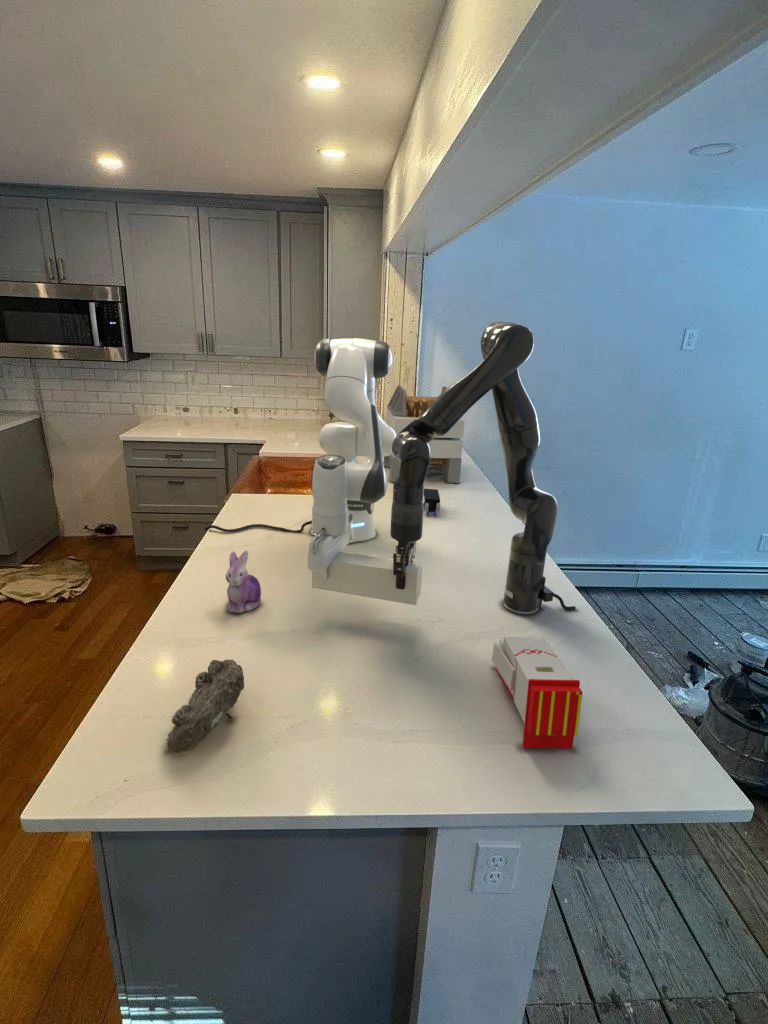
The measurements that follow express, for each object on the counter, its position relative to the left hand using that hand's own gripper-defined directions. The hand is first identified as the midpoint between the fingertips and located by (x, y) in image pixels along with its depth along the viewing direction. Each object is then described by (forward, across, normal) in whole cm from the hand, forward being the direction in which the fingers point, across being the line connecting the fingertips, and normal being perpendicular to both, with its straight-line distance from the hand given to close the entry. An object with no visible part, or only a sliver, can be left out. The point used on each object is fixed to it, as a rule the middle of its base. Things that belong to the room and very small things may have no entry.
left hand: (329, 573), depth 143 cm
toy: (+11, -20, -51) cm, 56 cm away
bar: (+3, 0, -10) cm, 10 cm away
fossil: (+11, -44, +6) cm, 46 cm away
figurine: (+11, -5, +22) cm, 25 cm away
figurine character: (+11, +86, -9) cm, 88 cm away
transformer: (+11, +139, +7) cm, 140 cm away
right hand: (-1, 0, -19) cm, 19 cm away
